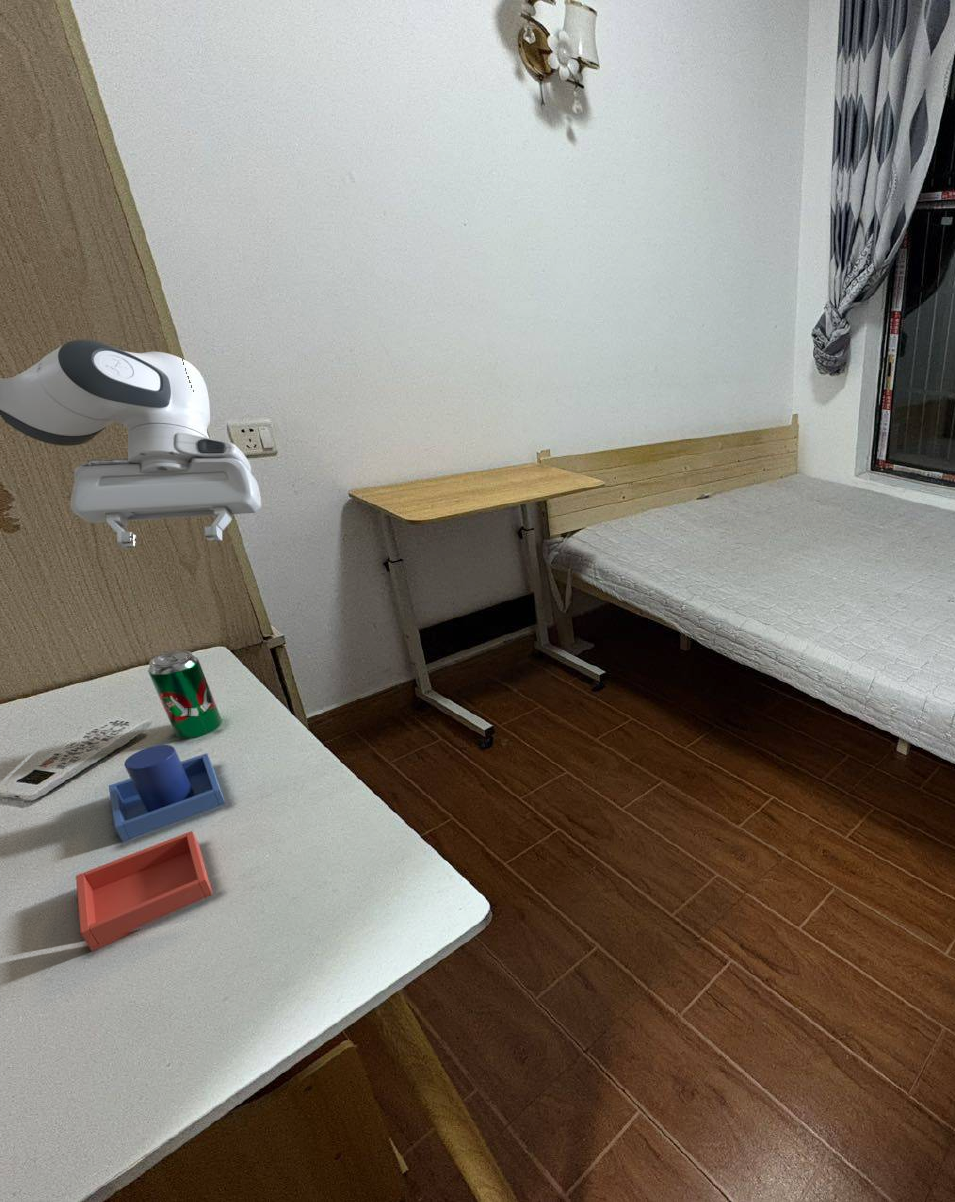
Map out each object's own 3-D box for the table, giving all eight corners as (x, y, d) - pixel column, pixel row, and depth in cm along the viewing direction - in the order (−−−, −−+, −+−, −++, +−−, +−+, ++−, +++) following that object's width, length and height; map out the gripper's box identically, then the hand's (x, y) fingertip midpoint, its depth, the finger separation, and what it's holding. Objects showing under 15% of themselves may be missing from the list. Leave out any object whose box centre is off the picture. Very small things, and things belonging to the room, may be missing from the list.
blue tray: (123, 845, 74) (114, 827, 73) (117, 802, 80) (108, 785, 79) (226, 806, 81) (219, 789, 79) (214, 769, 86) (207, 752, 85)
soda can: (214, 715, 96) (186, 645, 91) (230, 728, 94) (202, 656, 88) (170, 732, 92) (138, 660, 87) (185, 746, 90) (154, 672, 84)
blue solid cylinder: (138, 817, 78) (115, 771, 74) (157, 792, 81) (136, 747, 78) (184, 810, 79) (163, 765, 76) (200, 786, 83) (181, 742, 80)
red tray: (91, 951, 63) (80, 933, 62) (86, 893, 69) (75, 875, 68) (214, 897, 69) (205, 879, 68) (200, 847, 75) (192, 830, 74)
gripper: (60, 448, 89) (56, 540, 85) (247, 443, 97) (250, 526, 94) (89, 472, 94) (86, 559, 91) (263, 465, 103) (267, 544, 99)
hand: (171, 542), depth 92 cm, fingers open, 8 cm apart
